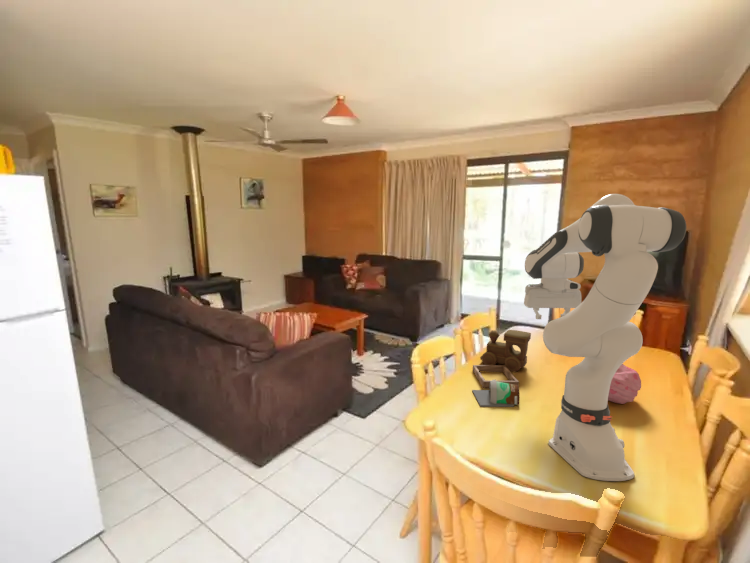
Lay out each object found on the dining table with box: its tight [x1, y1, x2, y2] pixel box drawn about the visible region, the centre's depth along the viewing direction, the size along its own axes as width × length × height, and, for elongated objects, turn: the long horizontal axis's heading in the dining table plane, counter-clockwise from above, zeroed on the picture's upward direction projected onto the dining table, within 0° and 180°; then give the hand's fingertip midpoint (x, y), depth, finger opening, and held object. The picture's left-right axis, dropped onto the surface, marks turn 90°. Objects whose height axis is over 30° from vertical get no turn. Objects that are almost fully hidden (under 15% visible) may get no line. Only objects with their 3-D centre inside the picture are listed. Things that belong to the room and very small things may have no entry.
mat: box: [471, 389, 515, 408], centre depth 136 cm, size 12×12×1 cm
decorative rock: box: [608, 363, 642, 405], centre depth 133 cm, size 19×14×15 cm
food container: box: [488, 379, 520, 406], centre depth 136 cm, size 12×6×10 cm
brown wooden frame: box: [472, 364, 520, 390], centre depth 153 cm, size 17×14×3 cm
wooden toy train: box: [479, 329, 532, 373], centre depth 166 cm, size 20×11×17 cm, turn 56°
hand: (550, 319), depth 138 cm, fingers open, 8 cm apart
